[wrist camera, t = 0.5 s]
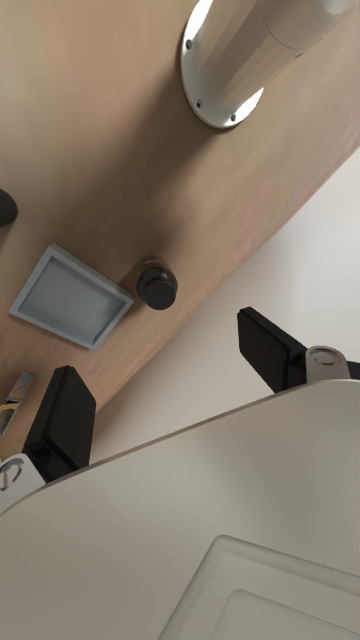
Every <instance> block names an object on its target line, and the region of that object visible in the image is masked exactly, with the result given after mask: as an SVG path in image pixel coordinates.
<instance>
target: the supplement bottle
mask: <svg viewBox="0 0 360 640" xmlns="http://www.w3.org/2000/svg"><path fill="white" fill-rule="evenodd" d="M135 279H136V289H137V293H138V295H139V297H140V298H141V300H142V301H143V302H145V303H146V304H148V306H150V307H151V308H153V309H155V310H163V309H164V310H165V309H167V308H168V307H170V306H171V305H172V304H173V303H174V301H175V298H176V293H177V288H178V284H177V280H176V277H175V275H174V274H173V272H172V271H171V269H170V268H169V266H168V265H167V263H166V262H165V261H164V260H163V259H161V258H159V257H156V256H148V257H145V258H143V259H142V260H141V261H140V262H139V263H138V264H137V266H136V270H135Z"/></svg>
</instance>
